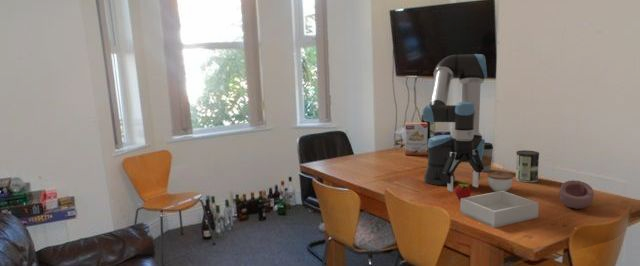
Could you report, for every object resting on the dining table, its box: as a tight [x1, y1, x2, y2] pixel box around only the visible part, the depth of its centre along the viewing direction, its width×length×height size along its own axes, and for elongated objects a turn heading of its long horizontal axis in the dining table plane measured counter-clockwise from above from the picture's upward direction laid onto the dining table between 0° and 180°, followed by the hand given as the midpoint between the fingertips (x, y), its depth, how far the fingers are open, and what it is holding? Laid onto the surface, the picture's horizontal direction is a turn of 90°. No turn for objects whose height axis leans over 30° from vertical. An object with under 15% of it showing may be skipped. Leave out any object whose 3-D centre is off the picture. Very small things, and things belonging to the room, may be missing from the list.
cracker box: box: [404, 122, 429, 156], centre depth 283 cm, size 14×6×21 cm, turn 81°
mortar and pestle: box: [558, 179, 595, 210], centre depth 176 cm, size 12×12×11 cm
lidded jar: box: [487, 170, 514, 192], centre depth 202 cm, size 11×11×9 cm
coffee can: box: [515, 149, 540, 183], centre depth 218 cm, size 10×10×14 cm
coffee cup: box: [481, 142, 494, 173], centre depth 238 cm, size 8×8×15 cm
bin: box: [459, 191, 540, 228], centre depth 171 cm, size 18×22×6 cm
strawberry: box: [454, 180, 472, 203], centre depth 187 cm, size 6×8×10 cm
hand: (462, 188), depth 186 cm, fingers open, 13 cm apart
